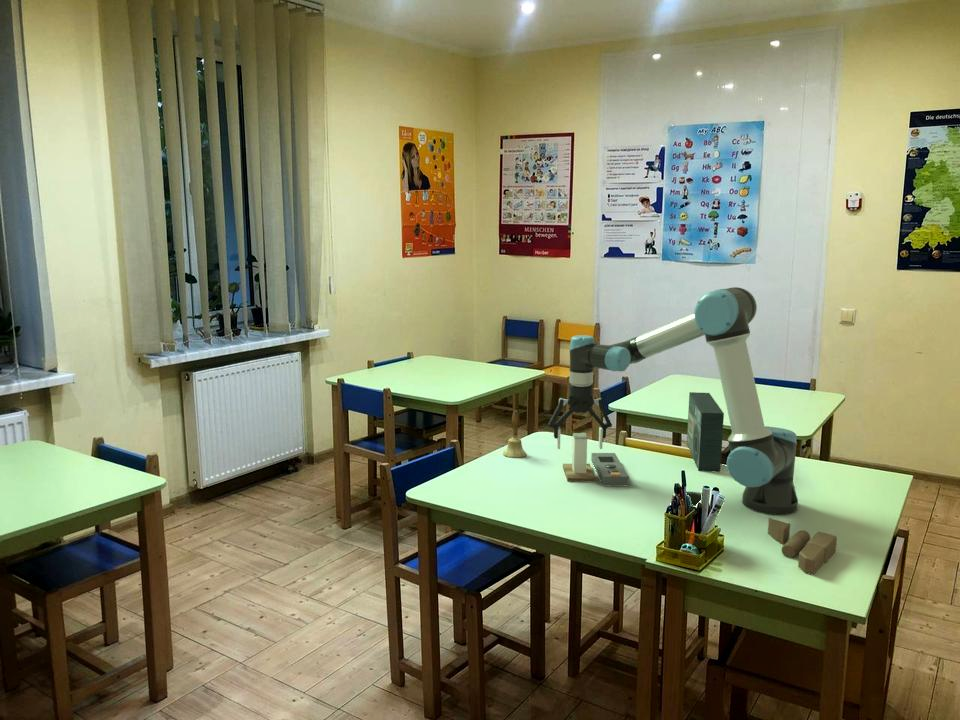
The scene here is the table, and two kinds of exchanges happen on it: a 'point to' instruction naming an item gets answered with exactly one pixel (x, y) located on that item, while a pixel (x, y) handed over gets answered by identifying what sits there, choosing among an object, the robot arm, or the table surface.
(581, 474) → the walnut board
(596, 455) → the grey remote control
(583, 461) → the block
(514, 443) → the hand bell
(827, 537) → the wooden block set
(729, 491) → the table surface
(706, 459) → the cassette player
